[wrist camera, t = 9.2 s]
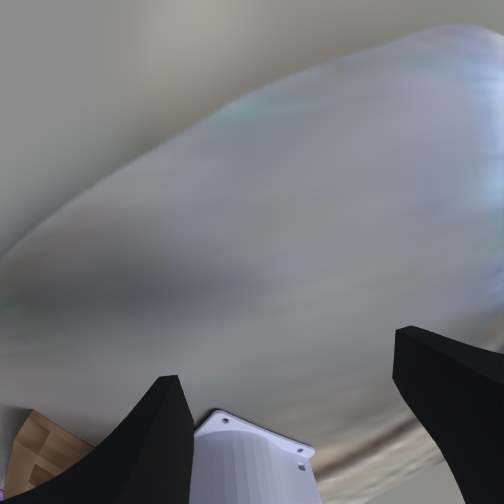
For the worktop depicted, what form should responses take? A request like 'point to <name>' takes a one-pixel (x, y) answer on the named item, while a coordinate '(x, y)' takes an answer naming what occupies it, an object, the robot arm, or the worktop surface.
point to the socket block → (41, 454)
